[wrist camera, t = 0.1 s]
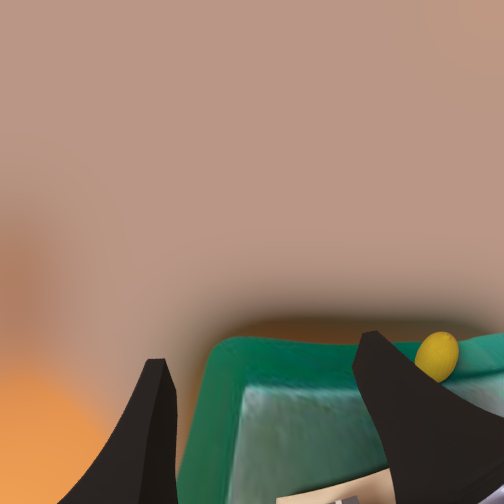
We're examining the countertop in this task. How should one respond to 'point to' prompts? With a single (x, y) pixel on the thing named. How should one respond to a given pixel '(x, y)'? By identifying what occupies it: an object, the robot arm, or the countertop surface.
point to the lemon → (438, 355)
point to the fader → (347, 501)
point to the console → (350, 491)
